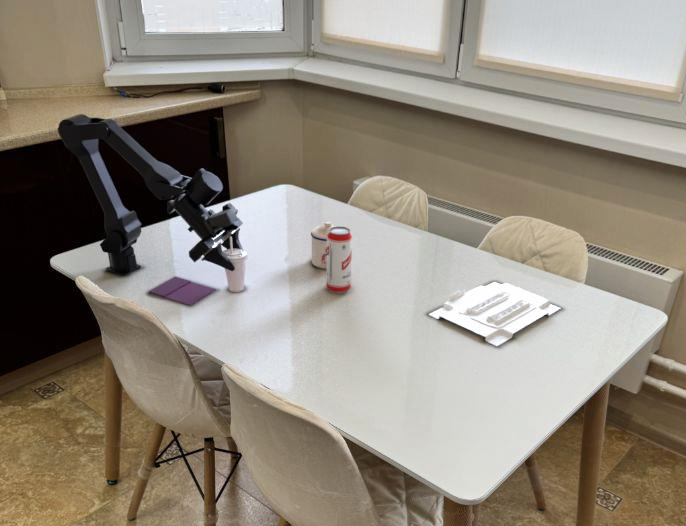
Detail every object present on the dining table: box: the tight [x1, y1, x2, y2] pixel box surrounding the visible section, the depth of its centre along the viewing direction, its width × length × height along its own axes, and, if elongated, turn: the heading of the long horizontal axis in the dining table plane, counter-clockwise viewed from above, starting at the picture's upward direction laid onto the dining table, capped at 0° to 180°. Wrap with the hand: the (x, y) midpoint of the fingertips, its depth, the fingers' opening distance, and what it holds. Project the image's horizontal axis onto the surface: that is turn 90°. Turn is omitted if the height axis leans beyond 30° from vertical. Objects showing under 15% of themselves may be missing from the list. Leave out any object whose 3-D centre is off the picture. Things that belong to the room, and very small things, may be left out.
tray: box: [428, 281, 562, 347], centre depth 170 cm, size 20×28×4 cm
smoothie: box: [222, 236, 248, 293], centre depth 172 cm, size 6×6×14 cm
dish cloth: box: [148, 276, 217, 306], centre depth 173 cm, size 13×10×1 cm
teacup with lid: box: [310, 221, 336, 270], centre depth 189 cm, size 12×9×12 cm
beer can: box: [325, 225, 353, 294], centre depth 174 cm, size 6×6×16 cm
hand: (239, 265), depth 172 cm, fingers closed on smoothie, 6 cm apart
